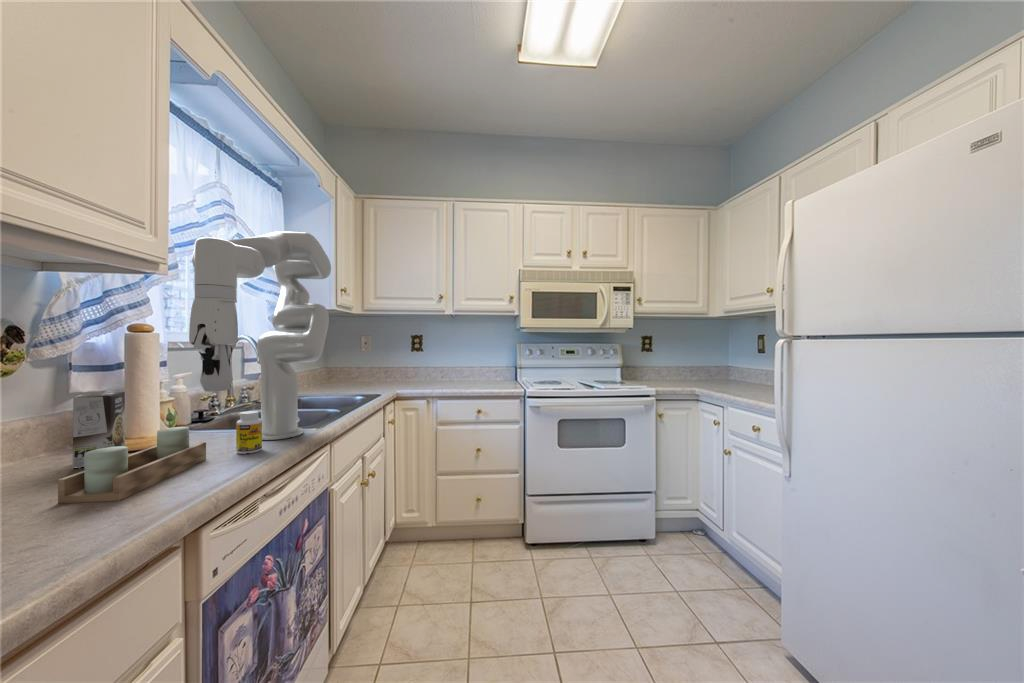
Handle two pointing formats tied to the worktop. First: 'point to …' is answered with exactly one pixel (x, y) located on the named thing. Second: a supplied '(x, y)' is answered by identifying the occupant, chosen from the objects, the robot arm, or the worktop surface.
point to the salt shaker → (225, 376)
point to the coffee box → (97, 423)
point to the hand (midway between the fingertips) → (216, 376)
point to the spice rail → (130, 468)
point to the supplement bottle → (249, 433)
